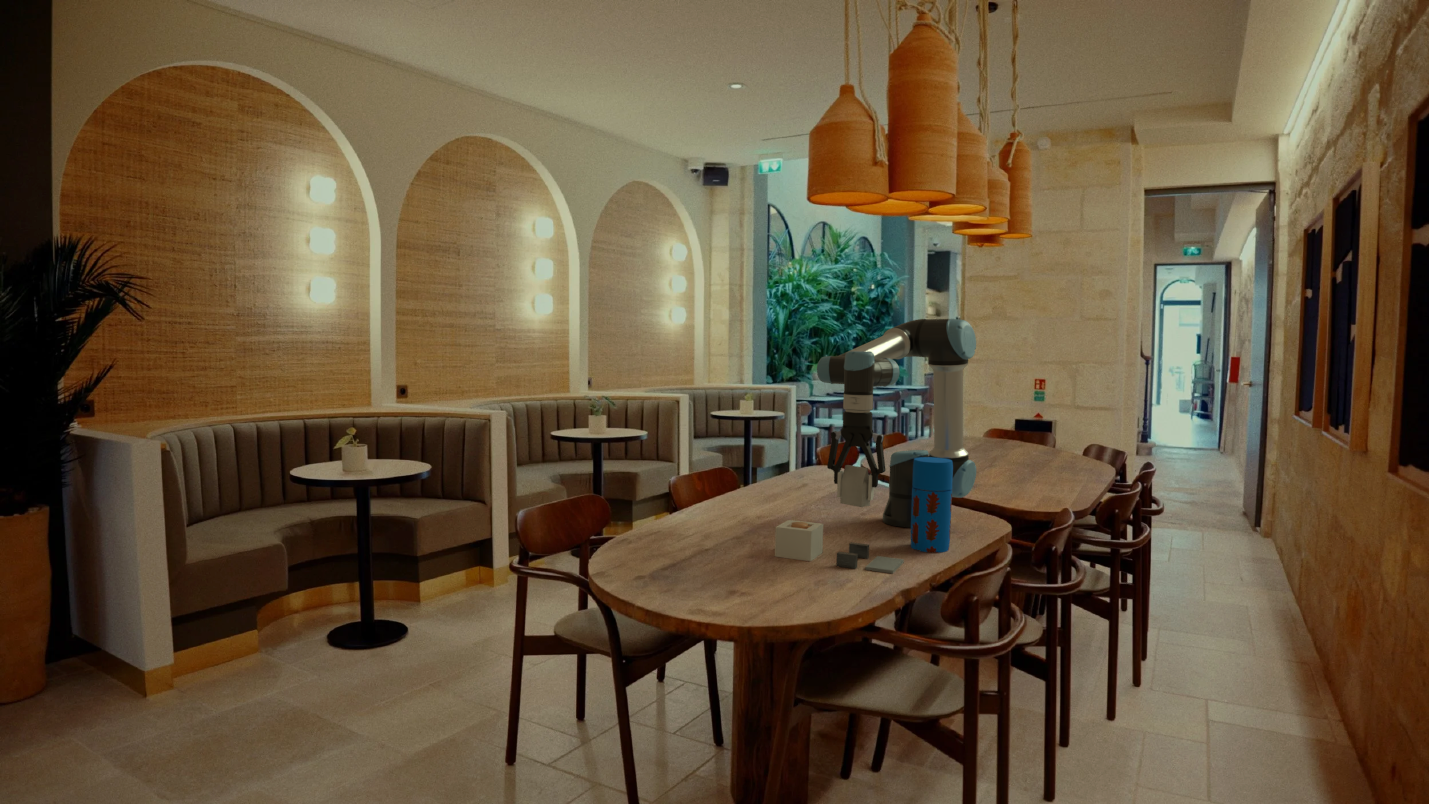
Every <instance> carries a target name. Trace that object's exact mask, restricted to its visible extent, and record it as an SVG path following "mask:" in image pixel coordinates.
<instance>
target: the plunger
mask: <svg viewBox="0 0 1429 804" xmlns="http://www.w3.org/2000/svg"><path fill="white" fill-rule="evenodd" d="M805 522H806V521H803V522H793V523H792V526H791V527H795V528H803V529H807V528H809V527H811V526H808V523H805Z"/></svg>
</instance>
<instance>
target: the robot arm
mask: <svg viewBox="0 0 1429 804" xmlns="http://www.w3.org/2000/svg"><path fill="white" fill-rule="evenodd" d="M976 349H977V338H976V333H975V331H974V328H973V327H972V324H970V322H968V321H967V320H964V319H959V318H931V319H930V318H927V319H926V318H919V319H914V320H909V321H906V322H903V323H900V324H899V325H898V324H897V325H896V326H893V327H892V328H889V329H887V330H886V331H885V332H884V333H883V335H882V336H880V337H878V338H875V339H872V340H871V341H869V342H867V343H864V344H862V345H860V346H857V347H855V348H853V349H851V350H849V351H846V352H844V353H842V354H840V355H837V356H833V355H829V356H822V357H821V358H820V359H819V361H818V362H817V365H816V376H817V377H818V380H820V381H821V382H822V383H824V384H830V385H843V403H842V404H843V405H842V406H843V408H842V409H843V410H844V411H843V412H842V427H841V429H840V431H838V430H837V431H836V430H835V431H832V432H830V440H831V442H830V443H831V444H830V449H829V454H828V460H827V469H829V470H831V471H833V473H834V474H833V483H834V485H837V487H836V488H837V489H836V490H837V491H836V494H837V495H836V497H837V498H840V497H841V479H842V476H843V473H844V470H843V471H842V468H843V466H844V463H845V461H846V458H847V456H848V454H849V452H850V451H851V450H850V449H851V448H853V447H858V448H861V450H862V451H863V453H864V456H865V459H866V462H867V464H868V467H869V470H870V472H871V473H869V484H868V500H870V502H871V501H872V500H874V499H875V497H874V495H875V493H874V492H875V488H878V485H879V475H881V474H883V473H885V472H886V460H885V454H884V445H883V442H884V438H885V436H884V434H883V433H880V434H879V433H876V432H874V430H873V413H872V410H873V407H874V401H873V400H874V388H876V387H877V388H878V387H888V386H892V385H893V384H895V383H896V382H898V379H899V377H900V374H901V373H900V367H899V365H898V363H897V362H896V360H901V359H903V358H908V357H909V358H910V357H913V358H914V357H915V358H927V359H928V362H927V363H928V366H929V367H930V368H931V369H932V371H933V444H934V446H933V448H932V449H931V450H930V451H929V450H926V449H925V450H924V449H910V450H901V451H896V452H892V454H891V455H890V460H889V461H890V462H889V465H888V466H889V486H888V489H889V490H888V492H889V493H888V499H887V502H886V505H885V508H884V510H883V514H882V523H884V524H886V525H889V526H895V527H900V528H911V510H912V487H913V486H912V482H913V463H914V458H919V457H935V458H945V459H950V460H952V462H953V479H952V498H958V499H959V498H960V499H961V498H965V497H966V496H968V495H969V494H970V492H971V491H972V489H973V487H974V484H975V482H976V477H977V465H976V463H975V462H974V461H973V460H972V459H969V455H970V454H969V451H967V450H966V448H965V447H964V369H966V367H967V366H969V360H971V359H972V358H973V357H974V356H975V353H976V351H975V350H976ZM841 437H842V438H843V440H844V444H843V446H842V450H841V451H840V454H839V457H838V458H837V453H838V447H839V441H840V439H841ZM872 438H873V442H875V451H876V452H875V453H876V460H877V463H876V461H875V457H874V455H873V451H872V449H871V445H870V441H871V440H872ZM836 458H837V461H836ZM835 463H836V464H835Z"/></svg>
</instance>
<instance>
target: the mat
mask: <svg viewBox="0 0 1429 804" xmlns="http://www.w3.org/2000/svg"><path fill="white" fill-rule="evenodd" d="M904 561H905V559H904V558H898V557H897V558H896V557H888V556H880V555H876V557H874V559H873V560H871V561H870V562H869V563H868V564H867V565H866V566H865V568H864V569H865V571H870V570H872V571H871V572H877V573H878V572H879V573H887V574H892V575H893V574H894V573H895V572H897V570H898V569H899V568H900V567H901V566H902V565H903V563H904Z"/></svg>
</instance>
